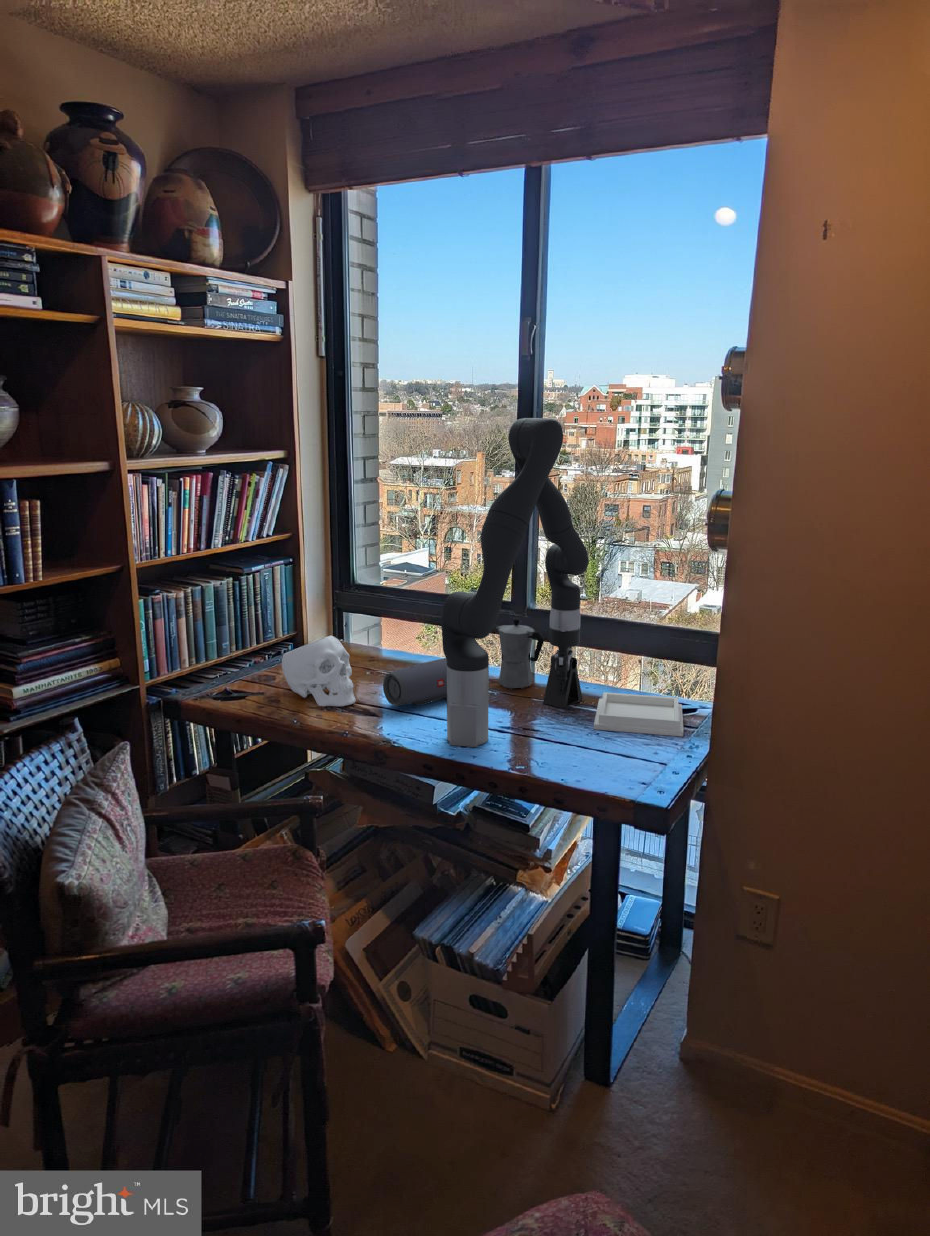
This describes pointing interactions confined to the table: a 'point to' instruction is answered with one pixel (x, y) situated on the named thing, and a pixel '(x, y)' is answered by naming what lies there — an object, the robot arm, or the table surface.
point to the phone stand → (572, 686)
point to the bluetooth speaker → (417, 683)
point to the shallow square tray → (639, 714)
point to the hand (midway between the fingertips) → (563, 689)
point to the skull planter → (320, 672)
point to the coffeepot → (517, 654)
